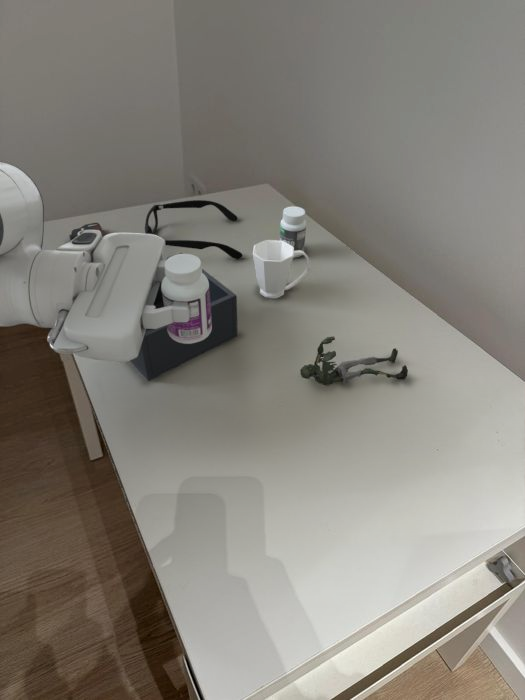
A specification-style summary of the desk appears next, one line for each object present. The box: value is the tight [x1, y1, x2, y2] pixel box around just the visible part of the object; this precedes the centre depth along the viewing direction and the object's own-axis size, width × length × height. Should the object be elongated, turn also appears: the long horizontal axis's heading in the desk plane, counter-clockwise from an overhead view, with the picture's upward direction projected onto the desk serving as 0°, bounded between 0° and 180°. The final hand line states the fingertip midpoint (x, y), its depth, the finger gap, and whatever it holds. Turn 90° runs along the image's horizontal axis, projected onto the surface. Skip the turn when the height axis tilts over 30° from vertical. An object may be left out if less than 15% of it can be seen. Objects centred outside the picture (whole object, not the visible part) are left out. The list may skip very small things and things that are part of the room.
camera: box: [68, 222, 106, 241], centre depth 97 cm, size 6×3×11 cm
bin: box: [129, 252, 238, 382], centre depth 77 cm, size 16×15×8 cm
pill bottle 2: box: [279, 205, 307, 259], centre depth 95 cm, size 5×5×8 cm
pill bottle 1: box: [161, 253, 212, 344], centre depth 59 cm, size 5×5×10 cm
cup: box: [252, 239, 311, 300], centre depth 86 cm, size 7×10×8 cm
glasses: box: [144, 199, 244, 260], centre depth 99 cm, size 17×18×5 cm
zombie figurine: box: [299, 335, 409, 386], centre depth 71 cm, size 5×7×15 cm
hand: (193, 293), depth 58 cm, fingers closed on pill bottle 1, 5 cm apart
